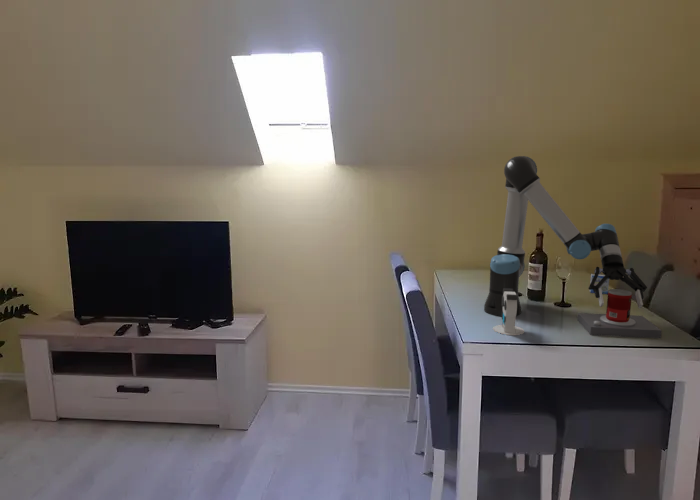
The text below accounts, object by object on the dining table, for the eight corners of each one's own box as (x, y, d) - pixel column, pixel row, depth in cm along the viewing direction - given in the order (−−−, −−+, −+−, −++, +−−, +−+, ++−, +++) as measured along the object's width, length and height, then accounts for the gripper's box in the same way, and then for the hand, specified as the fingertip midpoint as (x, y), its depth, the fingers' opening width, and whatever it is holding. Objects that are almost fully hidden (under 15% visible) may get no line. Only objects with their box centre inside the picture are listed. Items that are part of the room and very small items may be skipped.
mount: (590, 334, 193) (591, 323, 192) (577, 320, 210) (578, 310, 210) (660, 338, 189) (661, 327, 189) (641, 323, 207) (642, 312, 206)
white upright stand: (491, 324, 205) (492, 287, 202) (521, 325, 203) (523, 288, 201) (494, 334, 193) (496, 295, 191) (526, 336, 192) (529, 296, 189)
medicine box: (589, 292, 253) (591, 275, 252) (589, 290, 257) (590, 273, 256) (608, 294, 250) (609, 276, 249) (607, 292, 254) (608, 274, 253)
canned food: (632, 323, 195) (634, 294, 193) (608, 321, 196) (611, 293, 195) (625, 317, 202) (628, 289, 200) (603, 316, 204) (605, 288, 202)
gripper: (641, 264, 209) (653, 312, 197) (575, 263, 213) (583, 309, 201) (648, 254, 203) (661, 302, 191) (580, 252, 207) (588, 299, 195)
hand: (621, 305), depth 196 cm, fingers open, 13 cm apart
